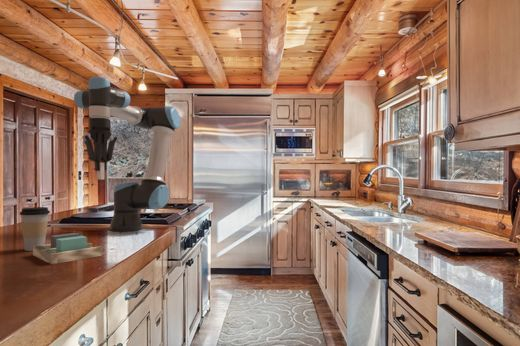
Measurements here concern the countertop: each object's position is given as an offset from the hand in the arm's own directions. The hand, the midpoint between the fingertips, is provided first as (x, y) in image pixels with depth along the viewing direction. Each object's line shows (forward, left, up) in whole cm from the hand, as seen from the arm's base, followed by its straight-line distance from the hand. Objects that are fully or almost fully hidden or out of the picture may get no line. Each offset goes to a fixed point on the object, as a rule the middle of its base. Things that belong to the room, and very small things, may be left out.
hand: (100, 179), depth 134 cm
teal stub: (+15, +13, -26) cm, 33 cm away
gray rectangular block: (+14, +5, -26) cm, 30 cm away
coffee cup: (+19, -10, -26) cm, 34 cm away
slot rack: (+14, +9, -26) cm, 31 cm away
